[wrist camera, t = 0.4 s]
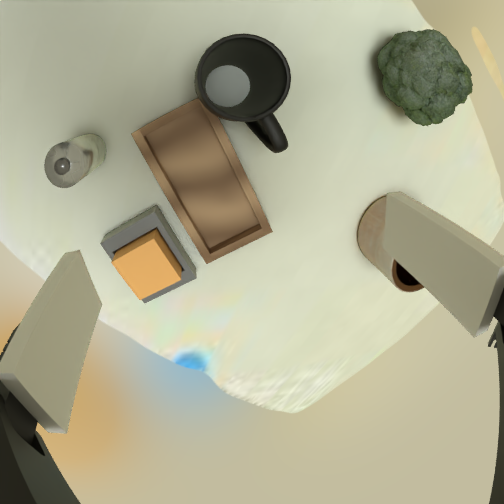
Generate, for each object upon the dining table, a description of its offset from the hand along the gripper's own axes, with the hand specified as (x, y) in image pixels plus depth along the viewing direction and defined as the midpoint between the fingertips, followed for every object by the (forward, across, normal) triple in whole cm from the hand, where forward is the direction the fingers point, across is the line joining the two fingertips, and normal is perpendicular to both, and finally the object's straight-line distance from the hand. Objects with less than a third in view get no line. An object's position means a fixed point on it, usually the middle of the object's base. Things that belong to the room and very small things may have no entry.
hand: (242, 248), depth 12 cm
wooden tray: (+25, -1, -3) cm, 25 cm away
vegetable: (+25, +28, +9) cm, 38 cm away
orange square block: (+23, -10, -11) cm, 27 cm away
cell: (+25, -14, +3) cm, 29 cm away
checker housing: (+25, -10, -11) cm, 29 cm away
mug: (+25, +4, +6) cm, 26 cm away
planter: (+25, +24, -14) cm, 37 cm away
